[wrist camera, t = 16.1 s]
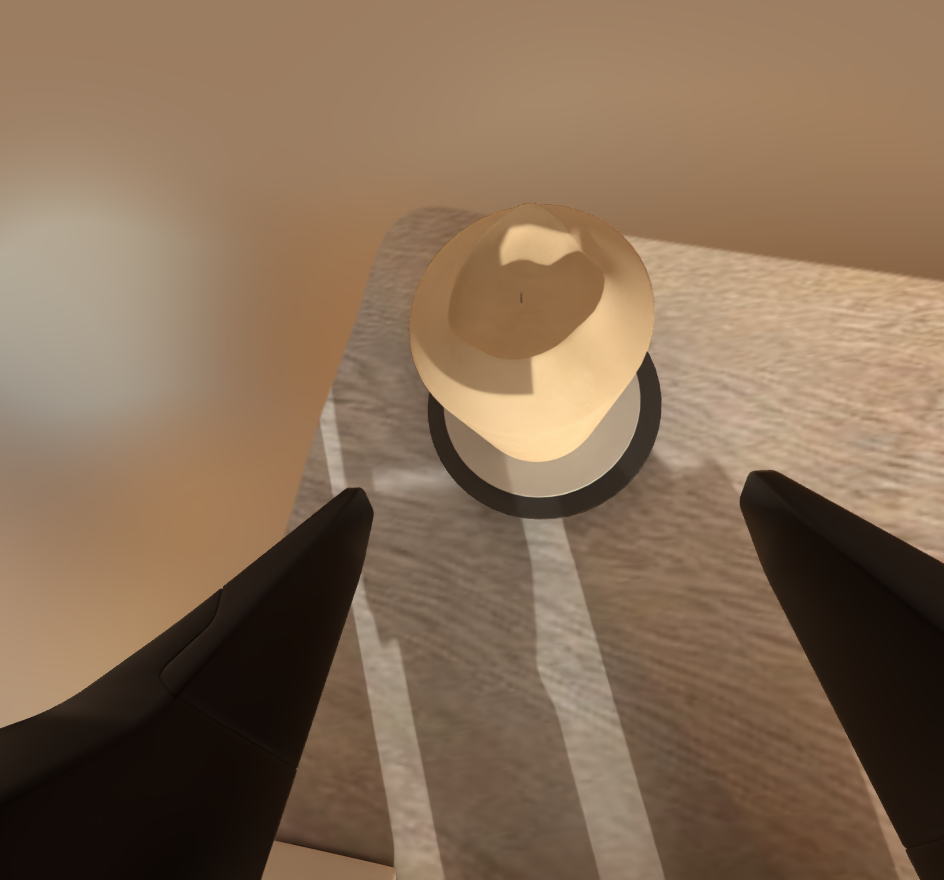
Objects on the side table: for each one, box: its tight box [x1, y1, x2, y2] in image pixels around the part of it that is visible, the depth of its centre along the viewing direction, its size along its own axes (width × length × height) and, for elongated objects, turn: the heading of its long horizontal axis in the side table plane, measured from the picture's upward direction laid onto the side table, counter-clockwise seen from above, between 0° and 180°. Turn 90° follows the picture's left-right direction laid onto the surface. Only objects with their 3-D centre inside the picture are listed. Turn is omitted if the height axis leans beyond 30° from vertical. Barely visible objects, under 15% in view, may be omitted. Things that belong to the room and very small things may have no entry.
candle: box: [409, 203, 655, 462], centre depth 12 cm, size 6×6×10 cm
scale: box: [428, 352, 661, 519], centre depth 18 cm, size 11×11×3 cm
